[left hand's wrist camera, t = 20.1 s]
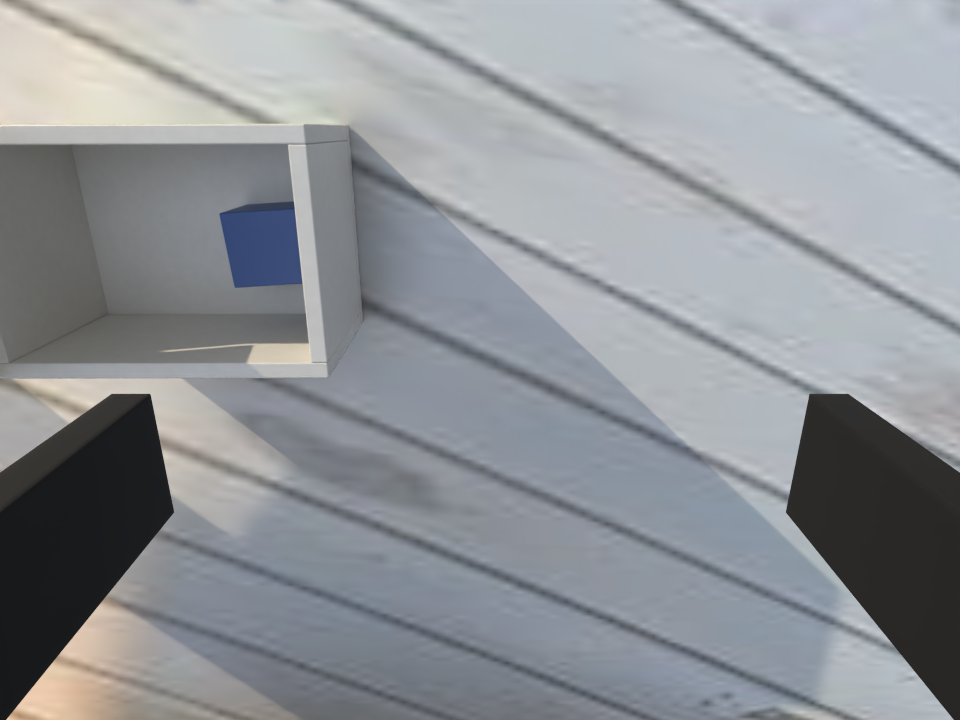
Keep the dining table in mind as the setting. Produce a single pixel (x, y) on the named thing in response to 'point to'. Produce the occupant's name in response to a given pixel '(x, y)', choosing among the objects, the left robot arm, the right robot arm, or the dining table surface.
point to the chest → (171, 251)
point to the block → (262, 244)
